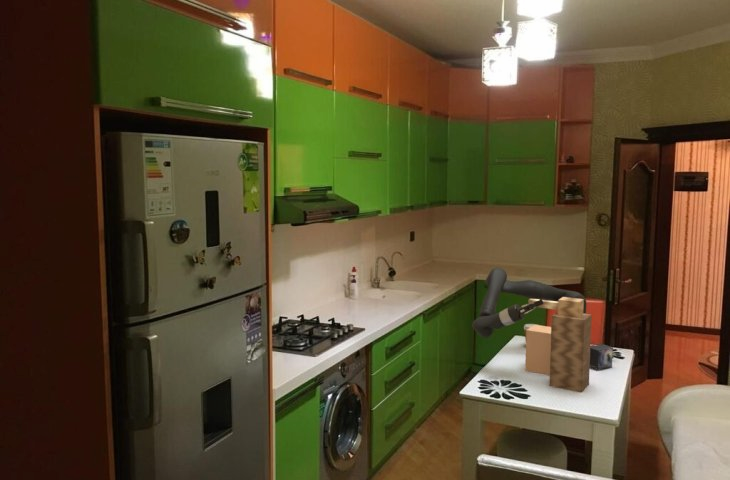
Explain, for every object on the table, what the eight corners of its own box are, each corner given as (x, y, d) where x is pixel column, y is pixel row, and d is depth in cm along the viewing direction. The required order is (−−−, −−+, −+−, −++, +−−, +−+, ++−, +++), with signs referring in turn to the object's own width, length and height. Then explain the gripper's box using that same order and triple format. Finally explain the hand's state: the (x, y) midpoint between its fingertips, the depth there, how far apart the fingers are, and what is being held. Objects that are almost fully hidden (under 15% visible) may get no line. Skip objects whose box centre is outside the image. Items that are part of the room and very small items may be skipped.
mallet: (526, 311, 262) (527, 296, 261) (531, 308, 267) (532, 293, 267) (579, 318, 249) (579, 302, 248) (583, 314, 254) (583, 299, 254)
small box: (597, 371, 275) (598, 350, 274) (586, 367, 281) (587, 346, 280) (612, 368, 280) (613, 347, 279) (601, 364, 286) (602, 343, 285)
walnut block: (549, 386, 256) (551, 315, 253) (557, 378, 266) (559, 310, 263) (581, 392, 249) (584, 320, 245) (588, 384, 258) (591, 314, 255)
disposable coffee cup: (526, 343, 321) (527, 322, 320) (543, 346, 316) (544, 325, 314) (520, 348, 313) (520, 326, 312) (537, 351, 308) (538, 329, 307)
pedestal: (525, 370, 277) (526, 330, 275) (533, 363, 287) (534, 324, 285) (554, 376, 269) (555, 334, 267) (561, 369, 279) (563, 328, 277)
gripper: (502, 310, 265) (534, 295, 255) (513, 305, 276) (544, 290, 267) (509, 325, 263) (542, 311, 254) (520, 319, 275) (552, 305, 265)
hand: (543, 300), depth 260 cm, fingers closed on mallet, 3 cm apart
